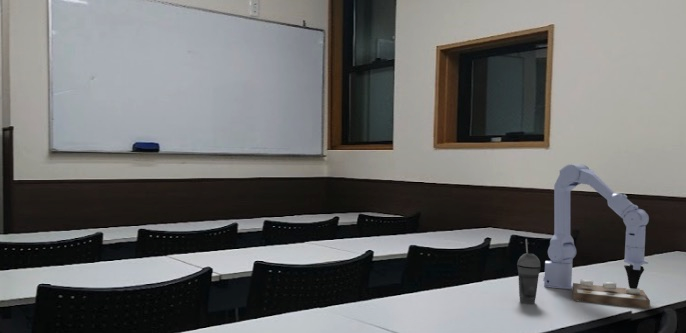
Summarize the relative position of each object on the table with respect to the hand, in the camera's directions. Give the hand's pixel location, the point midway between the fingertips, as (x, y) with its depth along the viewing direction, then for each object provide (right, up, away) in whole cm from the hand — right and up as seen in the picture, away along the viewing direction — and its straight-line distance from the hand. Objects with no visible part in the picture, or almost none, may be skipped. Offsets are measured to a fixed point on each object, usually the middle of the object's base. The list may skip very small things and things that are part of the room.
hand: (633, 288), depth 195 cm
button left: (-13, 0, +5) cm, 14 cm away
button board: (-7, -4, +2) cm, 8 cm away
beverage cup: (-36, -3, -6) cm, 37 cm away
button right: (0, -2, 0) cm, 2 cm away
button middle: (-7, 0, +2) cm, 7 cm away
